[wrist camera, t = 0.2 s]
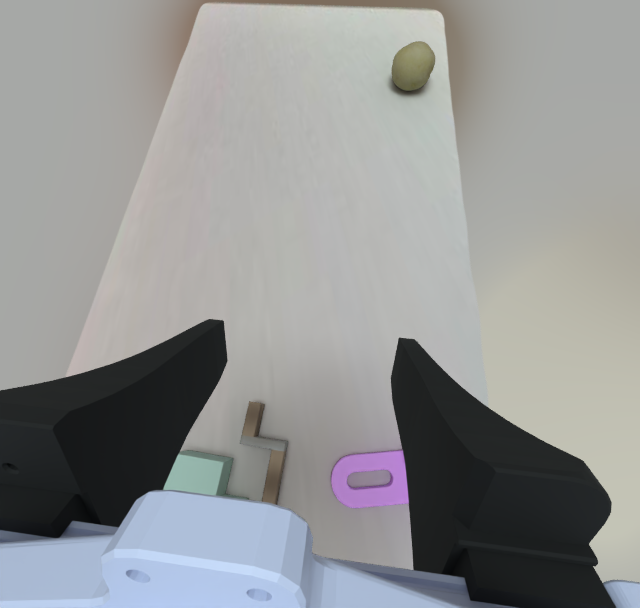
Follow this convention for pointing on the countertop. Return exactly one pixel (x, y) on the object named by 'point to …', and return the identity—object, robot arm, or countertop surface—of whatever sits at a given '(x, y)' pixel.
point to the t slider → (200, 474)
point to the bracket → (371, 495)
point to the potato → (413, 66)
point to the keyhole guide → (277, 447)
